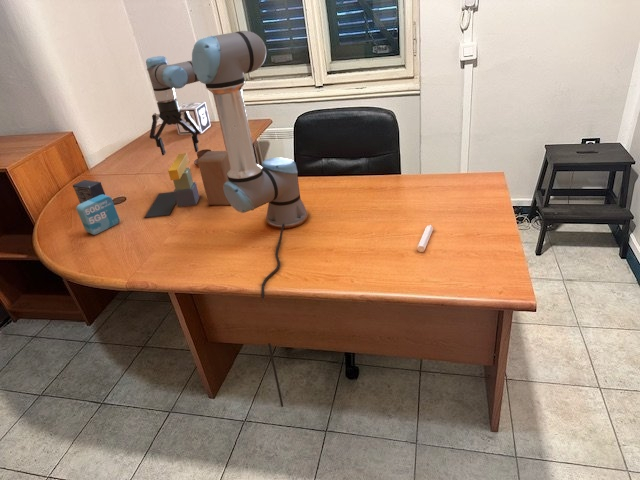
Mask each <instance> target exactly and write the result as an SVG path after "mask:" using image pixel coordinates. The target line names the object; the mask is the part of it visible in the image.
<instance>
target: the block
mask: <svg viewBox="0 0 640 480" xmlns="http://www.w3.org/2000/svg"><path fill="white" fill-rule="evenodd" d="M197 159H198V158H197ZM198 165H199V166H198V168H199V172H200V176H201V181H202V185H203V188H204V192H205V196H206V200H207V205H210V206H230V205H231V204H230V203H229V201H228V200H227V198H226V196H225V194H224V190H223V186H224V184H225V183H226V182H227V181H228V177H227V173H228V171H229V170H230V165H229V160H228V156H227V152H226V150H211V151H207V152H206V153H205V154H204V155H203V156H201V157H200V158H199V159H198Z"/></svg>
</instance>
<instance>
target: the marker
mask: <svg viewBox="0 0 640 480" xmlns="http://www.w3.org/2000/svg"><path fill="white" fill-rule="evenodd" d="M433 231H434V228H433V226H432V224H429V225H428V224H427V226H426V227H425V229H424V231H423V233H422V236H421V238H420V240H419V242H418V245H417V248H416V249H417V251H418V252H420V253H424V252H425V250H426V248H427V246H428V243H429V241H430V238H431V236H432V233H433Z"/></svg>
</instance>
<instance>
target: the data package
mask: <svg viewBox="0 0 640 480" xmlns="http://www.w3.org/2000/svg"><path fill="white" fill-rule="evenodd" d="M75 208H76V212H77V214H78V216H79V218H80V221H81V223H82V226H83V228H84V230H85V232H87V233H89V234H91V235H93V236H96V235H98V234H100V233H102V232H104V231H106V230H108V229H110V228H112V227H114V226H116V225H118V224H119V223H120V216H119V214H118V211H117V209H116V206H115V204H114V201H113V198H112V197H111V196H109V195H107V194H105V195H103V194H102V195H99V196H97V197H95V198H92V199H90V200H88V201H85V202H83V203H81V204H80V203H79V204H78V205H76V207H75Z"/></svg>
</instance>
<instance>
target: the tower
mask: <svg viewBox="0 0 640 480" xmlns="http://www.w3.org/2000/svg"><path fill="white" fill-rule="evenodd" d="M172 181H173V186H174V190H173V192H174V195H175V198H176V205H177V207H178V208H179V207H191V206H197V204H198V202H199V200H200V193H199V189H198V185H197V182H196V181H194V179H193V176H192V172H191V168H190V167H188V166H187V167H186V169H185V171H184V173H183V174H182V176H181V178H180V179H178V180H172Z"/></svg>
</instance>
